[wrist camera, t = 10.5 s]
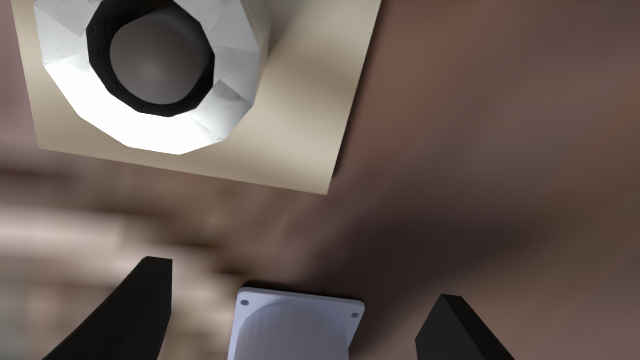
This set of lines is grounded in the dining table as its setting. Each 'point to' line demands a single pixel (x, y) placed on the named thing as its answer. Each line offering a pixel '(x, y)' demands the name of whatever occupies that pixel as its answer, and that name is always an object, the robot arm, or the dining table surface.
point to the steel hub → (139, 115)
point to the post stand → (189, 65)
